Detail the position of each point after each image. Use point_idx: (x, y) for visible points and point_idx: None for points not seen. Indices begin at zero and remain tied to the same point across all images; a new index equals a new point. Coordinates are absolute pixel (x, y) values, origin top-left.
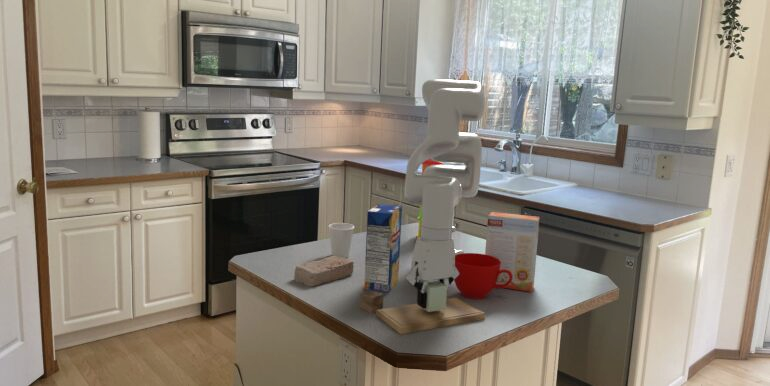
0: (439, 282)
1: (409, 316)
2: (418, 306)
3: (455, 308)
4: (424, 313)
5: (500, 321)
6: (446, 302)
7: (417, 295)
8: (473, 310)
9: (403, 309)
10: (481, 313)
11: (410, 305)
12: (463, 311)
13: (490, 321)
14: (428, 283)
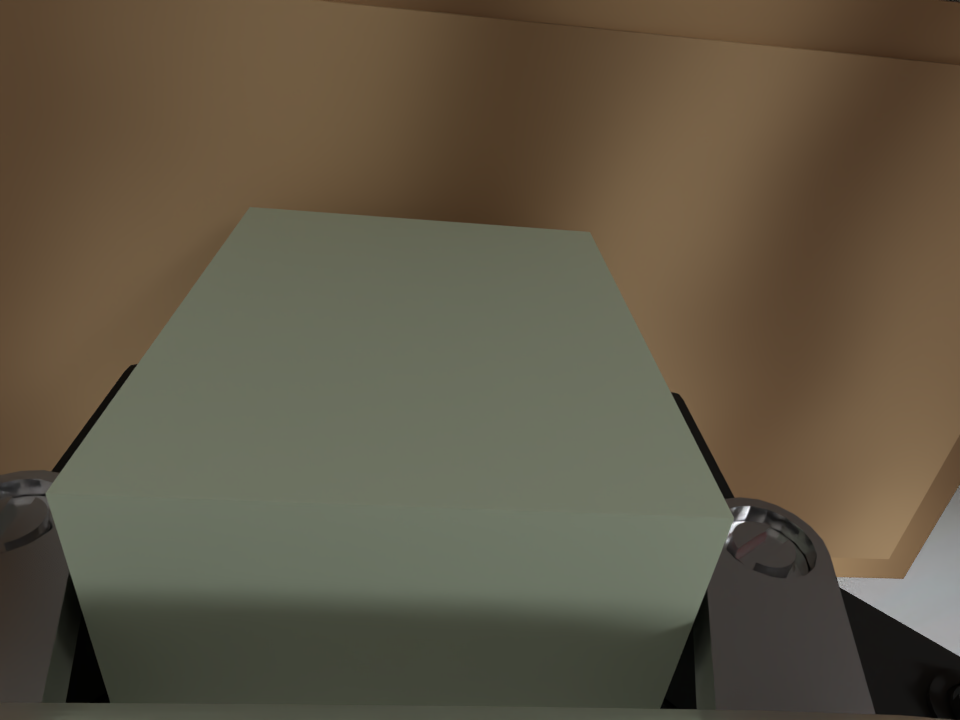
0: (616, 697)
1: (26, 367)
2: (333, 116)
3: (752, 400)
4: None
5: (920, 604)
6: (849, 178)
7: (82, 439)
8: (867, 510)
9: (20, 109)
10: (863, 574)
11: (218, 6)
12: (751, 493)
13: (855, 579)
14: (290, 667)
